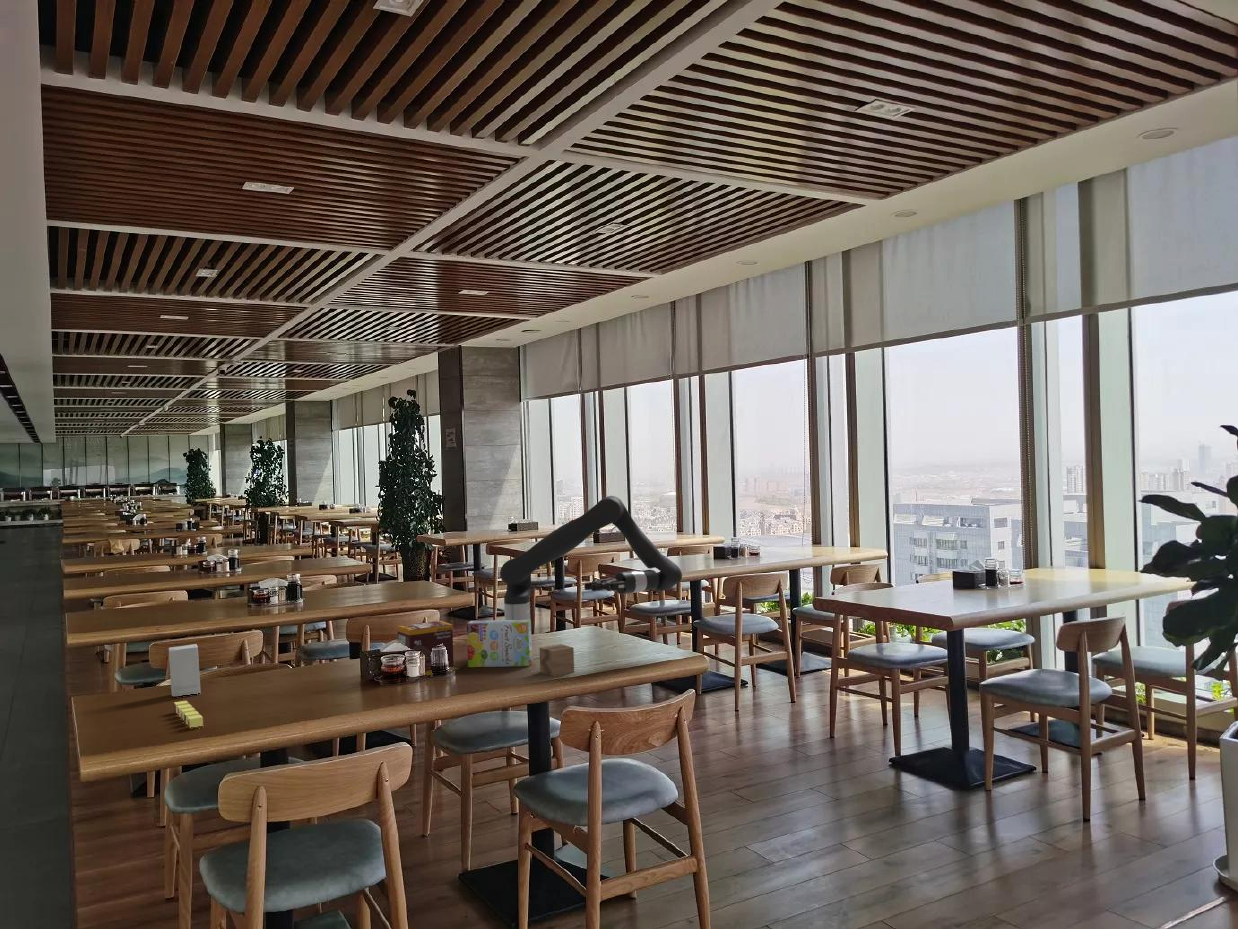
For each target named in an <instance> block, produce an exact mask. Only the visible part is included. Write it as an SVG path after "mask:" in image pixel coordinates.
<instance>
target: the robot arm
mask: <svg viewBox="0 0 1238 929" xmlns="http://www.w3.org/2000/svg"><path fill="white" fill-rule="evenodd" d="M610 524H612V525H614V527H615V528H617V530H619V532H621V534H622V535H623V537H624V538H625V539H626V541H627V543H628V544H629V547H630V548H631V549H632V551H633V552H634V554H635V556H636V557H638V559H639V560H640V561H641V563H643V565H644V566H645V567H646V568H647V569H643V570H628V571H620V572H617V573H616V574H615V575H614V577H607V578H600V579H595V580H592V581H591V582H586V583H584V590H586V591H590V590H591V591H592V592H597V591H603V592H605V591H607V592H612V591H613V592H616V593H617V594H619V595H628V594H634V593H640V592H644V591H645V592H646V591H651V590H652V591H658V592H664V591H668V590H670V589H672V588H673V587H674V586H676V585H677V584H678V583H680V582H681V580H682V578H683V572H682V570H681V568H680V567H679V566H678V565H677V564H676V563H675V562H674V561H672V560H671V559H670V558H668V557H667V556H665V555H664V554H662V553H661V552H660V550H659V549H658V548H657V547H656V546H655V545H654V543H653V542H652V541H651V540H650V539H649V537H648V536H647V535H646V534H645V533H644V531H642V529H641V528H640V527H639V525H637V523H636V521H635V520H634V518H633V517H632V515H631V514H630V512H629V511H628V509H627V507H626V506H625V504H624V503H623V501H622V499H620V498H619V497H618V496H615V495H608V496H606V497H603V498H602V499H600V500H599V501H598V502H597V503H596V504H594V505H593V507H591V508H590V509H588V510H587V511H586V512H585V513H584V514H582V515H581V516H579V517H577V518H574V519H572V520H570V521H568V522H566V523H564V524H562V525H561V526H559V527H557V528H556V529H554V530H553V531H551V532H550V533H549V534H547V535H546V536H545V537H543V538H542V539H541V540H539V541H538V542H536V543H535V544H534V545H533V546H532V547H531V548H529V549H528V550H526V551H524V552H523V553H521V554H519V555H516V556H515V557H513V558H510V559H508V560H507V561H505V562H504V563H503V564H502V566H501V568H500V571H499V575H500V579H501V581H502V582H503V583H505V584H506V592H505V594H504V597H503V605H504V607H503V608H504V609H503V610H504V620H531V604H530V601H531V600H530V599H531V598H530V597H531V593H532V573H533V572H534V571H535V570H537V569H539V568H540V567H542V566H544V565H547V564H548V563H550V562H554V561H555V560H557V559H559V558H561V557H563V556H565V555H566V554H568V553H570V551H572V550H573V549H575V548H577V547H578V546H579V545H581V543H583V542H584V541H585V540H586V539H587V538H589V537H590V536H591V535H592V534H594V533H595V532H597V531H599V530H601V529H602V528H605V527H606V526H608V525H610ZM653 568H656V570H658V571H656V570H653Z"/></svg>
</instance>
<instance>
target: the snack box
mask: <svg viewBox="0 0 1238 929" xmlns="http://www.w3.org/2000/svg"><path fill="white" fill-rule="evenodd" d="M532 642H533V640H532V619H530V620H505V619H503V620H502V619H498V620H497V619H496V620H493V619H492V620H470V621H467V623H466V646H467V648H466V649H467V668H497V667H498V668H499V667H500V668H503V667H504V668H505V667H507V668H508V667H509V668H510V667H530V666H531V665H532V664H533V645H532Z"/></svg>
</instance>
